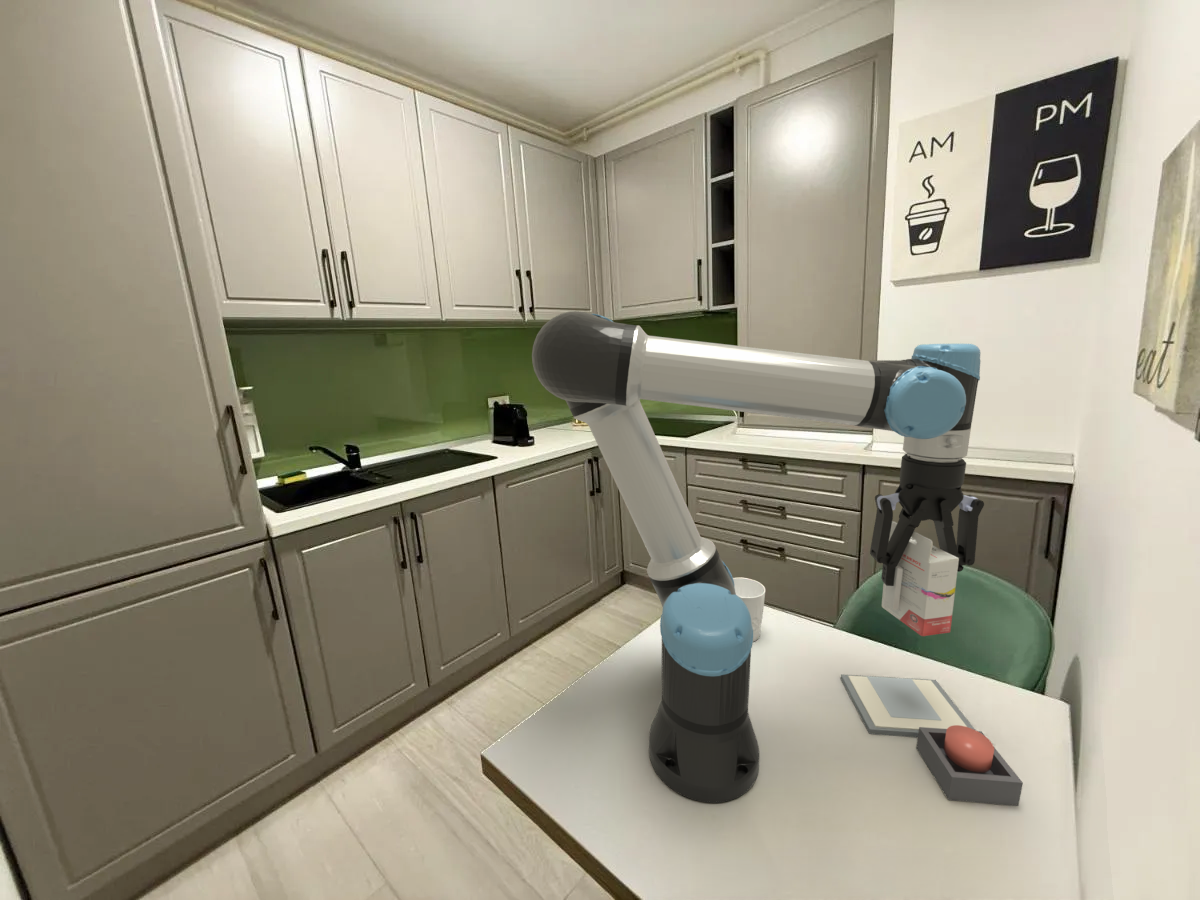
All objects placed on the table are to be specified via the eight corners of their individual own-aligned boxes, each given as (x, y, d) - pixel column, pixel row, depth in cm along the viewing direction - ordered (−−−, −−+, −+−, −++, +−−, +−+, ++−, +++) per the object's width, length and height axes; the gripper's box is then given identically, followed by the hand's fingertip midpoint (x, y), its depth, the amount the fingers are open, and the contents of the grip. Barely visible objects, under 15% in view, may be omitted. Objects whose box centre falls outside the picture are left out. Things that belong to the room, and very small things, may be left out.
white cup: (758, 622, 100) (760, 577, 98) (767, 645, 92) (769, 598, 90) (719, 621, 101) (720, 576, 99) (724, 644, 93) (726, 597, 91)
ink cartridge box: (952, 633, 70) (964, 538, 67) (921, 638, 70) (932, 542, 66) (907, 602, 78) (916, 516, 75) (879, 606, 78) (887, 519, 74)
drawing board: (869, 733, 72) (869, 727, 71) (840, 678, 83) (840, 672, 83) (980, 741, 70) (981, 735, 69) (935, 683, 81) (935, 678, 81)
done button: (957, 771, 62) (960, 754, 61) (936, 739, 67) (938, 723, 66) (1000, 774, 61) (1003, 757, 61) (975, 742, 66) (978, 726, 65)
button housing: (948, 799, 61) (951, 777, 60) (916, 747, 69) (919, 727, 68) (1018, 806, 60) (1023, 782, 59) (977, 752, 68) (981, 731, 67)
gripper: (873, 462, 66) (858, 615, 71) (1027, 462, 63) (999, 621, 69) (852, 449, 73) (840, 590, 78) (989, 449, 71) (967, 594, 76)
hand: (914, 604), depth 73 cm, fingers closed on ink cartridge box, 6 cm apart
